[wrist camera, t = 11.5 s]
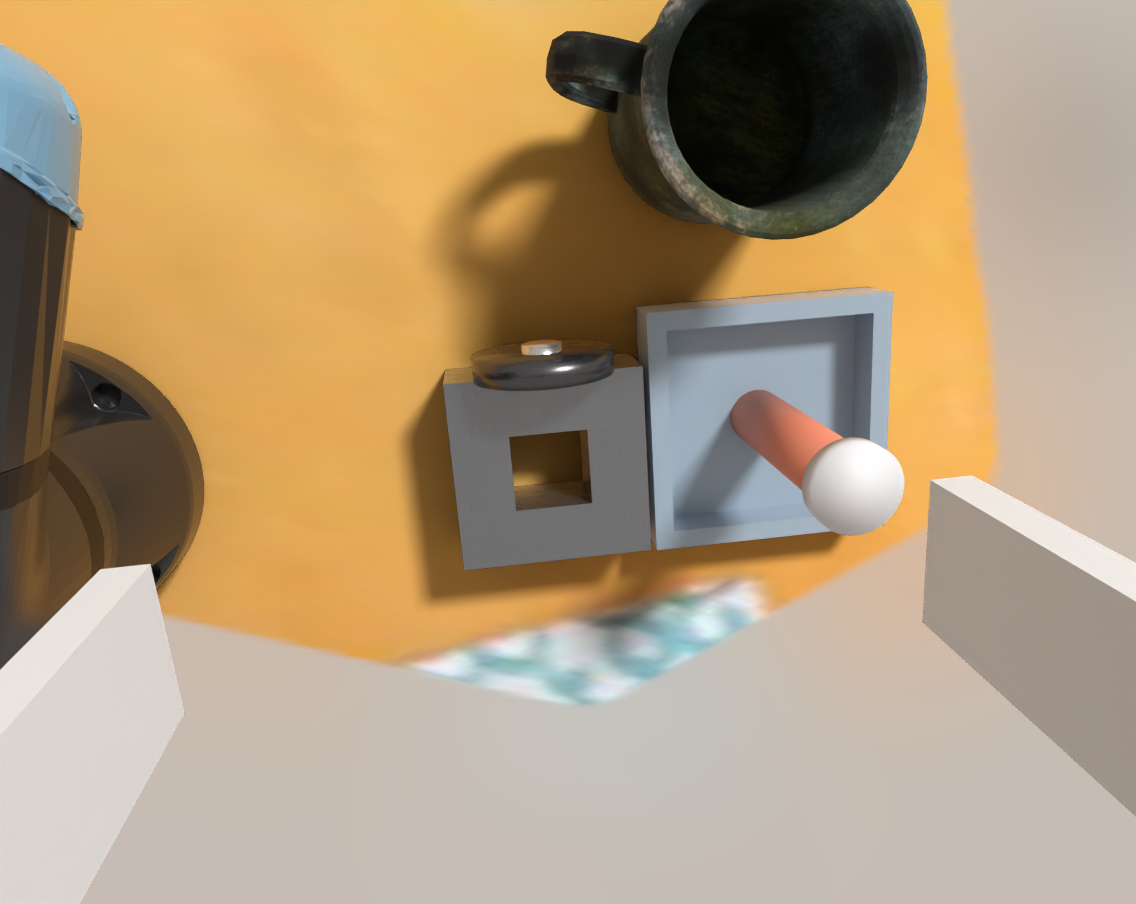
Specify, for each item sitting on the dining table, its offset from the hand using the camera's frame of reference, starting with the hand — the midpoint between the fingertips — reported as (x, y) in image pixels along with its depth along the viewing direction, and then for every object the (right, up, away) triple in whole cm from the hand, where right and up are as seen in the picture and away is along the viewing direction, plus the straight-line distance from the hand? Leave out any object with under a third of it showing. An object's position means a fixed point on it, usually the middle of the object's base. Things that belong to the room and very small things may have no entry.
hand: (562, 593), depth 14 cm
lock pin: (+11, +4, +33) cm, 35 cm away
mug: (+5, +20, +29) cm, 36 cm away
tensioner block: (-1, +3, +33) cm, 33 cm away
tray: (+11, +5, +34) cm, 36 cm away
